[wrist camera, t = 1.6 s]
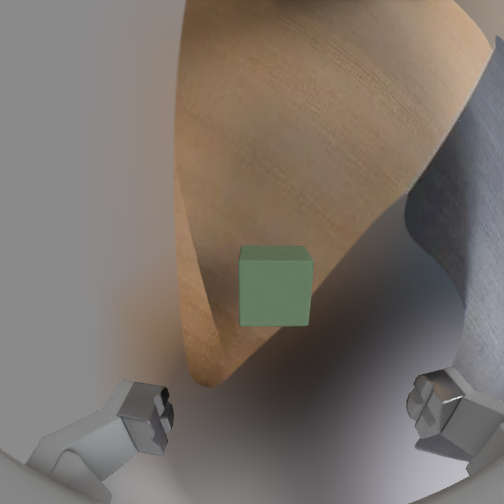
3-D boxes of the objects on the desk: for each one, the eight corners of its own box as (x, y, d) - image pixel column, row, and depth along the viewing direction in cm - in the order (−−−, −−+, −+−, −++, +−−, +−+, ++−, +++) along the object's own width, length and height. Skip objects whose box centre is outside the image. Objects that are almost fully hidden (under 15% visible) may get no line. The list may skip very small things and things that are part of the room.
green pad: (241, 245, 18) (238, 260, 15) (304, 245, 18) (314, 260, 15) (241, 302, 19) (239, 326, 16) (300, 302, 19) (308, 326, 16)
